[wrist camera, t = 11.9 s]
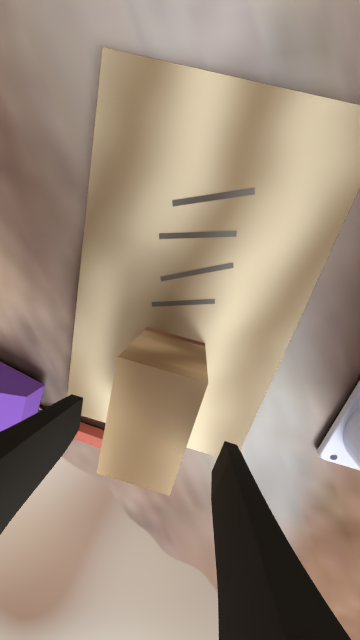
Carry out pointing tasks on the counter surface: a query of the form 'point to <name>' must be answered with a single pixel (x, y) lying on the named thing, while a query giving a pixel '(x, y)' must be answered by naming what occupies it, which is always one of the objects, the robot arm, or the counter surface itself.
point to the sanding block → (153, 409)
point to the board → (206, 227)
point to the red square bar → (89, 434)
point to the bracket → (17, 396)
